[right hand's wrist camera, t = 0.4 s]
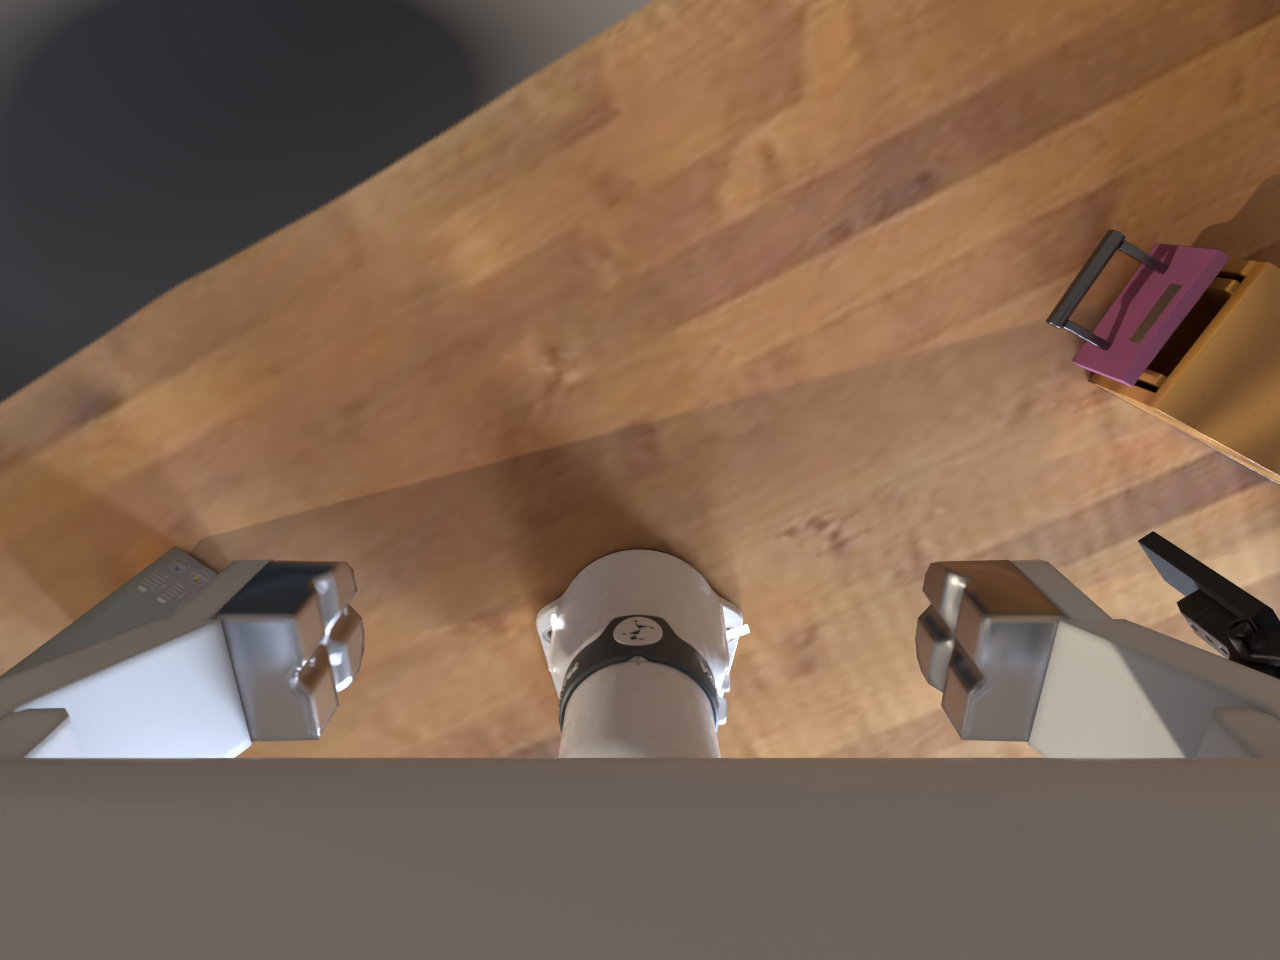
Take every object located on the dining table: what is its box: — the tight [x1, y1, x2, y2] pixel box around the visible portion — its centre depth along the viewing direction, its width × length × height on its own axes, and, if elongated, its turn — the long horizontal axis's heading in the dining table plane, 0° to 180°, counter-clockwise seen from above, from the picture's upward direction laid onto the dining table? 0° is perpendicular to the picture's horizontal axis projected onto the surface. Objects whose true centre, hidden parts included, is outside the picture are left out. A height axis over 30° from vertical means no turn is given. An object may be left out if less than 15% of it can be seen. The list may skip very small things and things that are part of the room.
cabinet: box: [1088, 258, 1280, 485], centre depth 54 cm, size 21×11×8 cm, turn 64°
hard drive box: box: [0, 547, 218, 679], centre depth 57 cm, size 16×8×20 cm, turn 139°
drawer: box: [1046, 230, 1241, 393], centre depth 53 cm, size 25×10×6 cm, turn 64°
